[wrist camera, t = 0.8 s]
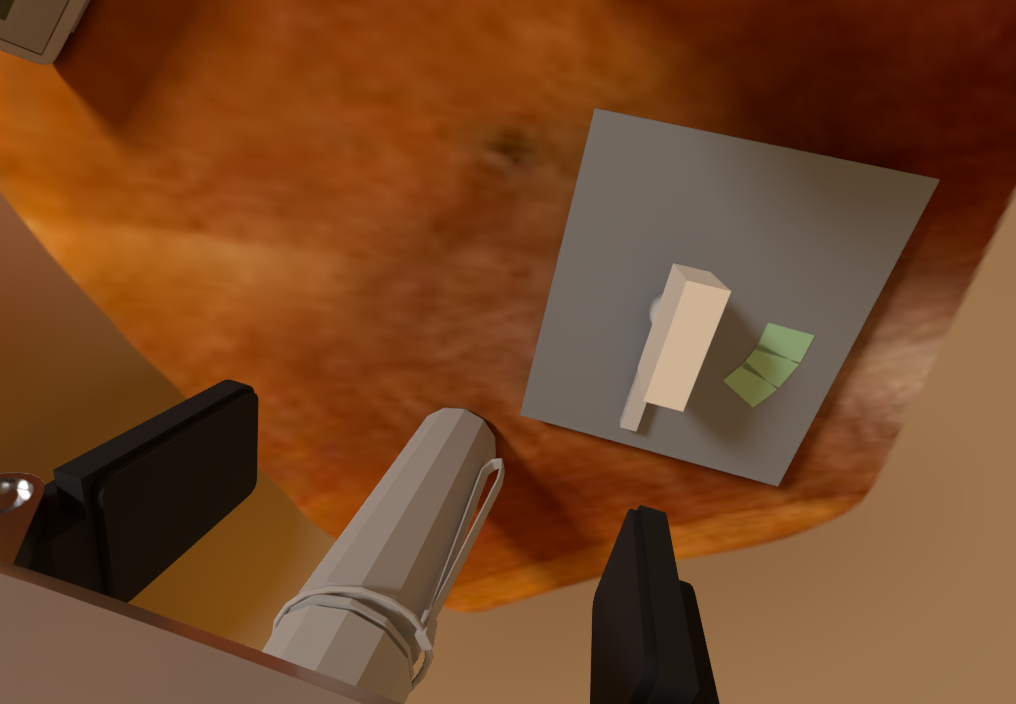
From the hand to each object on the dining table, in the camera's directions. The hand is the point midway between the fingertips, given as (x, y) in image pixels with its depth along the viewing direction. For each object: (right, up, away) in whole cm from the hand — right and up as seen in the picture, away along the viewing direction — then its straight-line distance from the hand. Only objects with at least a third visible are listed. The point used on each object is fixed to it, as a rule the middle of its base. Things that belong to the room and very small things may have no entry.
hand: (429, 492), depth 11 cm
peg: (+12, +4, +22) cm, 25 cm away
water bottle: (-2, -4, +31) cm, 31 cm away
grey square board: (+15, +7, +23) cm, 28 cm away
